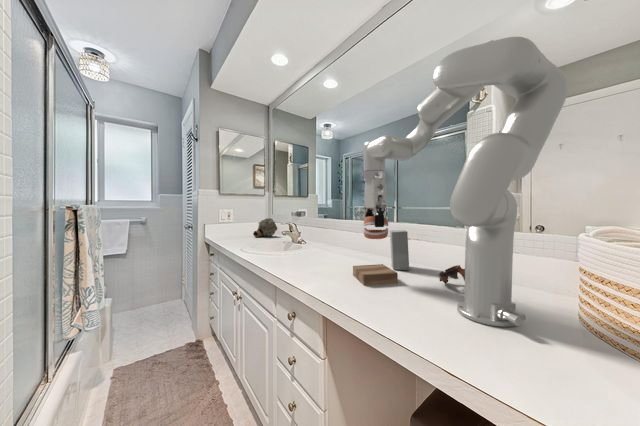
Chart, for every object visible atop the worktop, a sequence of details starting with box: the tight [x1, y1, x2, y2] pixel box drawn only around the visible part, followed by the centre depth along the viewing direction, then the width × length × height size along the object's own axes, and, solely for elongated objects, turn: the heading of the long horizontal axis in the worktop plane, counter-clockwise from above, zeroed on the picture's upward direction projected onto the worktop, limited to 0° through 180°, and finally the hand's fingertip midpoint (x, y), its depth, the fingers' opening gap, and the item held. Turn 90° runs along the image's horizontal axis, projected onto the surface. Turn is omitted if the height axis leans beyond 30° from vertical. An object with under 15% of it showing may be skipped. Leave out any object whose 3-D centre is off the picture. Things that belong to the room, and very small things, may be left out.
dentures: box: [363, 215, 389, 240], centre depth 88 cm, size 9×7×8 cm
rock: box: [252, 217, 278, 238], centre depth 200 cm, size 18×14×15 cm
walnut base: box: [352, 263, 399, 287], centre depth 90 cm, size 12×12×4 cm
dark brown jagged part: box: [437, 265, 465, 285], centre depth 81 cm, size 12×10×8 cm
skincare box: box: [389, 229, 410, 271], centre depth 104 cm, size 8×7×16 cm
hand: (374, 225), depth 89 cm, fingers closed on dentures, 8 cm apart
